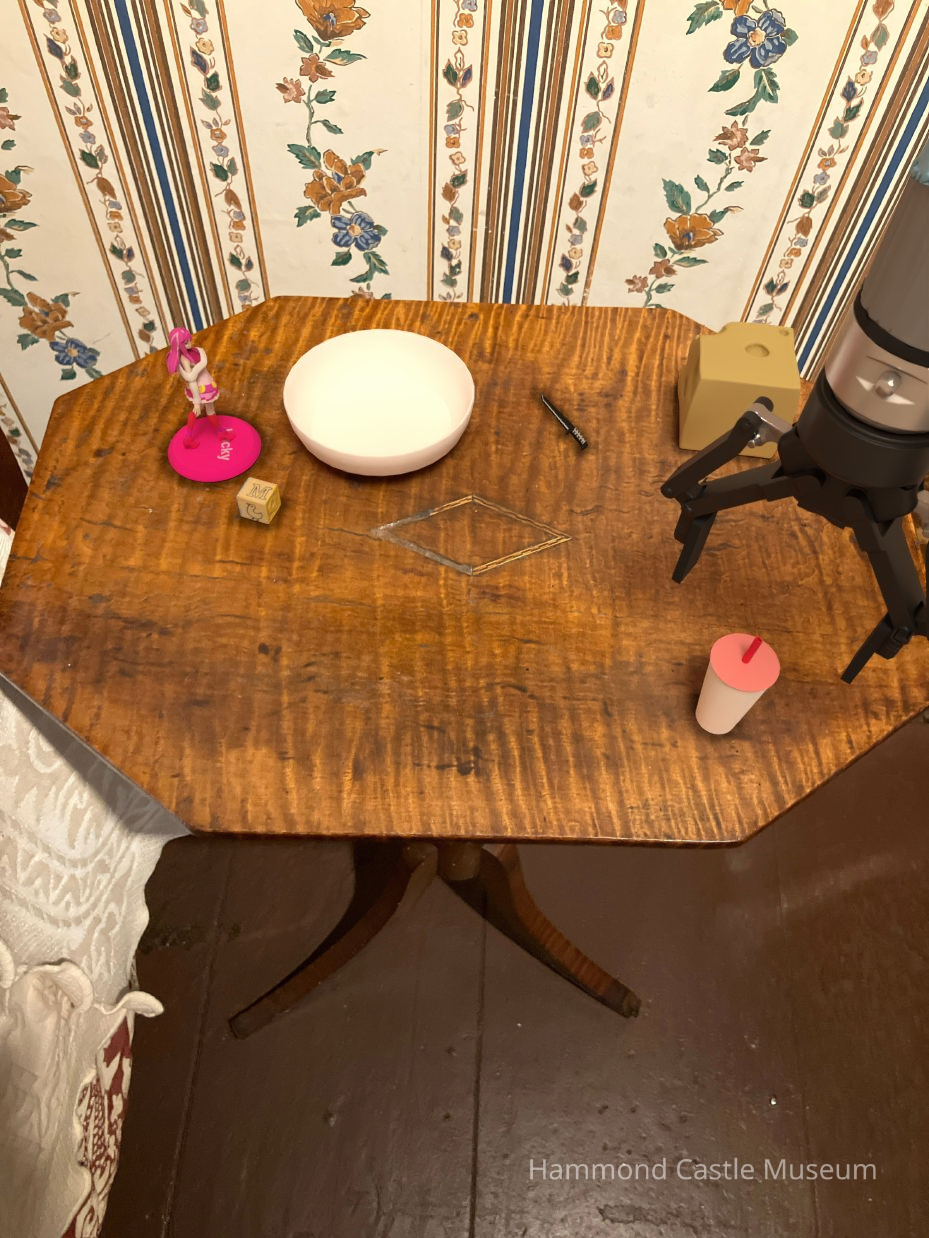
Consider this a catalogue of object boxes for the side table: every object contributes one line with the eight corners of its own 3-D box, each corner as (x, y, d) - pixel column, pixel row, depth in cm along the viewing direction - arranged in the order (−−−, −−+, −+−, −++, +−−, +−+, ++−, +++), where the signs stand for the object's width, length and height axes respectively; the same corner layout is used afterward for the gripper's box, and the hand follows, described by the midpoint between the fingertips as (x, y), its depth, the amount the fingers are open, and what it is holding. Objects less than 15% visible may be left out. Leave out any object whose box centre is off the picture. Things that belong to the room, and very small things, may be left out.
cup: (746, 695, 77) (791, 616, 67) (747, 749, 74) (794, 675, 64) (684, 685, 77) (720, 605, 67) (683, 739, 74) (720, 664, 64)
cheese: (675, 388, 100) (696, 313, 92) (770, 399, 99) (800, 324, 91) (674, 452, 94) (697, 378, 86) (776, 464, 93) (809, 390, 85)
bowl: (446, 362, 101) (446, 316, 96) (495, 481, 91) (498, 437, 86) (277, 389, 98) (269, 343, 93) (308, 516, 87) (300, 473, 82)
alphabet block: (254, 496, 89) (248, 475, 86) (282, 504, 88) (278, 482, 86) (240, 518, 87) (234, 497, 85) (269, 525, 87) (264, 505, 84)
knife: (532, 396, 99) (533, 393, 98) (544, 392, 99) (545, 390, 99) (578, 452, 93) (578, 449, 93) (590, 448, 94) (590, 445, 94)
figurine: (262, 478, 90) (235, 359, 78) (166, 487, 89) (123, 368, 77) (260, 414, 96) (234, 293, 83) (169, 421, 95) (129, 301, 82)
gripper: (652, 327, 49) (593, 563, 66) (1116, 551, 40) (909, 753, 58) (718, 265, 52) (645, 505, 70) (1157, 460, 44) (950, 677, 61)
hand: (765, 618), depth 64 cm, fingers open, 13 cm apart
